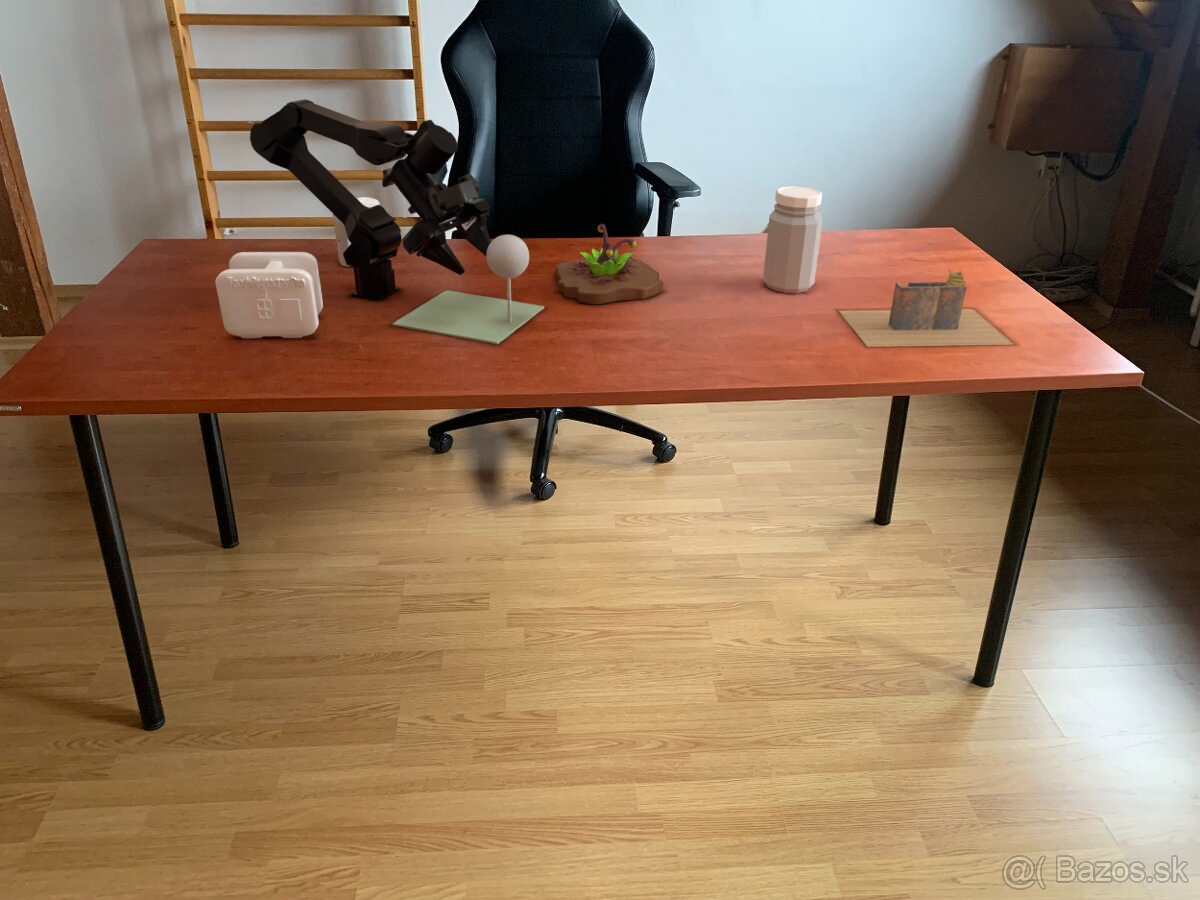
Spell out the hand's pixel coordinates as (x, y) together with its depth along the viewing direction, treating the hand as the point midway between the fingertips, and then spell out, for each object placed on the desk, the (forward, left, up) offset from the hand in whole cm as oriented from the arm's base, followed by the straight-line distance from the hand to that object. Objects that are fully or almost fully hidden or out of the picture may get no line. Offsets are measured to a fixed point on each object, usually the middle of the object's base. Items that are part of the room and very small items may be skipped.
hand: (478, 265), depth 159 cm
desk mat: (-2, -1, -9) cm, 9 cm away
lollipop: (+6, -1, -9) cm, 11 cm away
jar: (+46, +38, -9) cm, 60 cm away
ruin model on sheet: (+72, +27, -9) cm, 77 cm away
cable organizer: (-28, -19, -9) cm, 35 cm away
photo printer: (-36, +17, -9) cm, 41 cm away
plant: (+14, +24, -9) cm, 30 cm away
